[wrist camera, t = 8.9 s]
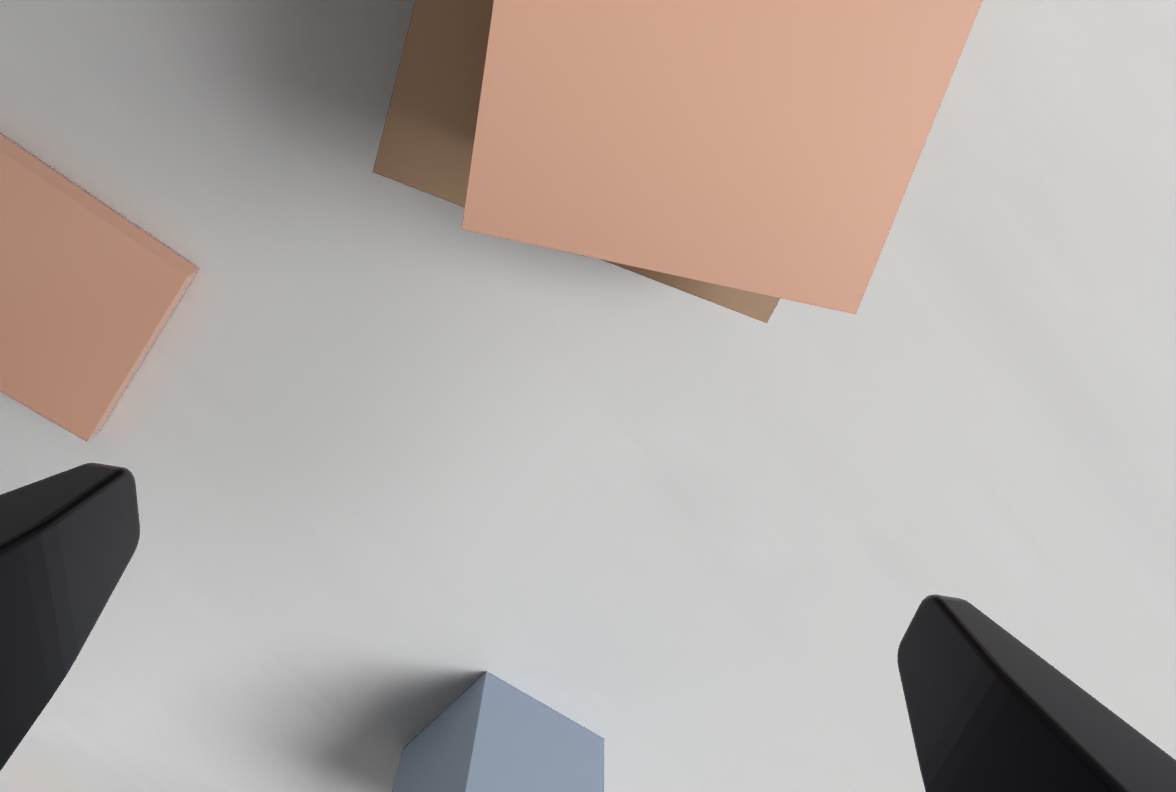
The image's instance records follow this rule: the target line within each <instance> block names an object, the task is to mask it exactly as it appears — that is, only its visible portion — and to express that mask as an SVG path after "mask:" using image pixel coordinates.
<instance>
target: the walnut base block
mask: <svg viewBox="0 0 1176 792" xmlns="http://www.w3.org/2000/svg"><path fill="white" fill-rule="evenodd" d="M493 3H494V0H416V1H415V5H414V9H413V13H412V17H411V21H410V25H409V29H408V33H407V37H406V41H405V45H404V49H403V53H402V57H401V61H400V65H399V69H398V73H397V77H396V81H395V85H394V89H393V93H392V97H391V101H390V105H389V109H388V113H387V117H386V121H385V125H384V129H383V133H382V137H381V141H380V145H379V149H378V153H377V157H376V161H375V165H374V169H373V172H374V173H377V174H379V175H382V176H384V177H387V178H390V179H392V180H395V181H397V182H400V183H403V184H405V185H408V186H410V187H413V188H416V189H418V190H421V191H424V192H426V193H429V194H431V195H434V196H437V197H439V198H442V199H444V200H447V201H450V202H452V203H455V204H457V205H460V206H463V207H465V204H466V196H467V189H468V182H469V175H470V168H471V161H472V154H473V146H474V139H475V132H476V125H477V118H478V111H479V103H480V96H481V89H482V82H483V75H484V68H485V60H486V53H487V46H488V39H489V32H490V25H491V17H492V10H493ZM601 260H602V259H601ZM603 261H606V260H603ZM606 262H609V263H611V264H614V265H617V266H619V267H622V268H624V269H627V270H630V271H632V272H635V273H637V274H640V275H643V276H645V277H648V278H650V279H653V280H656V281H658V282H661V283H663V284H666V285H669V286H671V287H674V288H677V289H679V290H682V291H684V292H687V293H690V294H692V295H695V296H697V297H700V298H703V299H705V300H708V301H710V302H713V303H716V304H718V305H721V306H723V307H726V308H729V309H731V310H734V311H737V312H739V313H742V314H744V315H747V316H750V317H752V318H755V319H757V320H760V321H763V322H765V323H767V322H768V320H769V318H770V316H771V314H772V313H773V311H774V309H775V307H776V305H777V303H778V301H779V300H780V298H778V297H773V296H768V295H764V294H759V293H754V292H750V291H745V290H741V289H736V288H731V287H727V286H722V285H717V284H713V283H708V282H703V281H699V280H694V279H690V278H685V277H680V276H676V275H671V274H666V273H662V272H657V271H653V270H648V269H643V268H639V267H634V266H629V265H625V264H620V263H616V262H611V261H606Z"/></svg>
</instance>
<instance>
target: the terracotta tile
mask: <svg viewBox="0 0 1176 792" xmlns="http://www.w3.org/2000/svg"><path fill="white" fill-rule="evenodd" d="M198 270H199V268H197V267H196V266H194V265H193V264H191V263H190V262H188V261H187V260H185V259H184V258H183V257H181V256H180V255H178V254H177V253H175V252H174V251H172V250H171V249H169V248H168V247H166V246H165V245H163V244H162V243H160V242H159V241H158V240H156V239H155V238H153V237H152V236H150V235H149V234H147V233H146V232H144V231H143V230H141V229H140V228H138V227H137V226H135V225H134V224H133V223H131V222H130V221H128V220H127V219H125V218H124V217H122V216H121V215H119V214H118V213H116V212H115V211H113V210H112V209H110V208H109V207H107V206H106V205H105V204H103V203H102V202H100V201H99V200H97V199H96V198H94V197H93V196H91V195H90V194H88V193H87V192H85V191H84V190H82V189H81V188H80V187H78V186H77V185H75V184H74V183H72V182H71V181H69V180H68V179H66V178H65V177H63V176H62V175H60V174H59V173H57V172H56V171H55V170H53V169H52V168H50V167H49V166H47V165H46V164H44V163H43V162H41V161H40V160H38V159H37V158H35V157H34V156H32V155H31V154H29V153H28V152H27V151H25V150H24V149H22V148H21V147H19V146H18V145H16V144H15V143H13V142H12V141H10V140H9V139H7V138H6V137H4V136H3V135H2V134H0V391H1V392H2V393H4V394H6V395H8V396H9V397H11V398H13V399H14V400H16V401H18V402H20V403H21V404H23V405H25V406H26V407H28V408H30V409H32V410H33V411H35V412H37V413H38V414H40V415H42V416H44V417H45V418H47V419H49V420H50V421H52V422H54V423H56V424H57V425H59V426H61V427H62V428H64V429H66V430H68V431H69V432H71V433H73V434H75V435H76V436H78V437H80V438H81V439H83V440H85V441H88V440H90V439H91V438H92V437H93V436H94V435H95V434H97V433H98V432H99V431H100V430H101V428H102V427H103V425H104V423H105V422H106V420H107V418H108V417H109V415H110V414H111V412H112V410H113V409H114V407H115V405H116V404H117V402H118V401H119V399H120V397H121V396H122V394H123V392H124V391H125V389H126V387H127V386H128V384H129V383H130V381H131V379H132V378H133V376H134V374H135V373H136V371H137V369H138V368H139V366H140V365H141V363H142V361H143V360H144V358H145V356H146V355H147V353H148V352H149V350H150V348H151V347H152V345H153V343H154V342H155V340H156V338H157V337H158V335H159V334H160V332H161V330H162V329H163V327H164V325H165V324H166V322H167V320H168V319H169V317H170V316H171V314H172V312H173V311H174V309H175V307H176V306H177V304H178V303H179V301H180V299H181V298H182V296H183V294H184V293H185V291H186V289H187V288H188V286H189V285H190V283H191V281H192V280H193V278H194V276H195V275H196V273H197V271H198Z"/></svg>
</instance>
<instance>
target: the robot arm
mask: <svg viewBox="0 0 1176 792" xmlns="http://www.w3.org/2000/svg"><path fill="white" fill-rule="evenodd" d="M139 535H140V524H139V514H138V504H137V494H136V484H135V479H134V476H133V474H132V473H131V472H130V471H129V470H128V469H126V468H123V467H116V466H110V465H104V464H97V463H87V464H84V465H81V466H78V467H76V468H73V469H70V470H67V471H65V472H62V473H59V474H56V475H54V476H51V477H48V478H45V479H43V480H40V481H37V482H35V483H32V484H29V485H26V486H24V487H21V488H18V489H15V490H13V491H10V492H7V493H4V494H2V495H0V771H1V769H2V768H3V766H4V765H5V764H6V762H7V761H8V759H9V758H10V756H11V755H12V754H13V752H14V751H15V749H16V748H17V746H18V745H19V743H20V742H21V741H22V739H23V738H24V736H25V735H26V733H27V732H28V731H29V729H30V728H31V726H32V725H33V723H34V722H35V721H36V719H37V718H38V716H39V715H40V713H41V712H42V710H43V709H44V708H45V706H46V705H47V703H48V702H49V700H50V699H51V698H52V696H53V695H54V693H55V692H56V690H57V689H58V687H59V685H60V684H61V682H62V681H63V679H64V678H65V676H66V675H67V673H68V671H69V670H70V668H71V666H72V665H73V663H74V661H75V660H76V658H77V656H78V654H79V653H80V651H81V649H82V647H83V645H84V643H85V642H86V640H87V638H88V636H89V634H90V632H91V631H92V629H93V627H94V625H95V623H96V622H97V620H98V618H99V616H100V614H101V612H102V611H103V609H104V607H105V605H106V603H107V601H108V600H109V598H110V596H111V594H112V592H113V591H114V589H115V587H116V585H117V583H118V581H119V580H120V578H121V576H122V574H123V572H124V570H125V569H126V567H127V565H128V563H129V561H130V559H131V558H132V556H133V554H134V552H135V550H136V547H137V544H138V541H139ZM898 668H899V672H900V677H901V682H902V686H903V691H904V696H905V700H906V705H907V710H908V714H909V719H910V724H911V728H912V733H913V738H914V742H915V747H916V752H917V756H918V761H919V766H920V770H921V774H922V778H923V782H924V786H925V790H926V792H1176V760H1175V759H1173V758H1172V757H1171V756H1169V755H1168V754H1167V753H1165V752H1164V751H1163V750H1162V749H1160V748H1159V747H1158V746H1156V745H1155V744H1154V743H1152V742H1151V741H1150V740H1148V739H1147V738H1146V737H1145V736H1143V735H1142V734H1141V733H1139V732H1138V731H1137V730H1135V729H1134V728H1133V727H1131V726H1130V725H1129V724H1127V723H1126V722H1125V721H1124V720H1122V719H1121V718H1120V717H1118V716H1117V715H1116V714H1114V713H1113V712H1112V711H1110V710H1109V709H1108V708H1107V707H1105V706H1104V705H1103V704H1101V703H1100V702H1099V701H1097V700H1096V699H1095V698H1093V697H1092V696H1091V695H1089V694H1088V693H1087V692H1086V691H1084V690H1083V689H1082V688H1080V687H1079V686H1078V685H1076V684H1075V683H1074V682H1072V681H1071V680H1070V679H1068V678H1067V677H1066V676H1065V675H1063V674H1062V673H1061V672H1059V671H1058V670H1057V669H1055V668H1054V667H1053V666H1051V665H1050V664H1049V663H1048V662H1046V661H1045V660H1044V659H1042V658H1041V657H1040V656H1038V655H1037V654H1036V653H1034V652H1033V651H1032V650H1030V649H1029V648H1028V647H1027V646H1025V645H1024V644H1023V643H1021V642H1020V641H1019V640H1017V639H1016V638H1015V637H1013V636H1012V635H1011V634H1010V633H1008V632H1007V631H1006V630H1004V629H1003V628H1002V627H1000V626H999V625H998V624H996V623H995V622H994V621H992V620H991V619H990V618H989V617H987V616H986V615H985V614H983V613H982V612H981V611H979V610H978V609H977V608H975V607H974V606H973V605H972V604H970V603H969V602H967V601H965V600H963V599H960V598H954V597H947V596H941V595H930V596H927V597H926V598H925V599H924V600H923V601H922V602H921V604H920V606H919V608H918V609H917V611H916V613H915V615H914V617H913V619H912V621H911V623H910V625H909V627H908V629H907V631H906V633H905V635H904V637H903V639H902V641H901V643H900V646H899V649H898Z"/></svg>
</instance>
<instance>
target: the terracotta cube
mask: <svg viewBox="0 0 1176 792" xmlns="http://www.w3.org/2000/svg"><path fill="white" fill-rule="evenodd" d="M982 1H983V0H494V3H493V10H492V17H491V25H490V32H489V39H488V46H487V53H486V60H485V68H484V75H483V82H482V89H481V96H480V103H479V111H478V118H477V125H476V132H475V139H474V146H473V154H472V161H471V168H470V175H469V182H468V189H467V196H466V204H465V211H464V218H463V225H462V229H463V230H467V231H472V232H477V233H481V234H486V235H491V236H495V237H500V238H504V239H509V240H514V241H518V242H523V243H528V244H532V245H537V246H541V247H546V248H551V249H555V250H560V251H565V252H569V253H574V254H578V255H583V256H588V257H592V258H597V259H602V260H606V261H611V262H616V263H620V264H625V265H629V266H634V267H639V268H643V269H648V270H653V271H657V272H662V273H666V274H671V275H676V276H680V277H685V278H690V279H694V280H699V281H703V282H708V283H713V284H717V285H722V286H727V287H731V288H736V289H741V290H745V291H750V292H754V293H759V294H764V295H768V296H773V297H778V298H782V299H787V300H791V301H796V302H801V303H805V304H810V305H815V306H819V307H824V308H828V309H833V310H838V311H842V312H847V313H852V314H856V313H857V310H858V308H859V305H860V303H861V301H862V298H863V296H864V293H865V291H866V288H867V286H868V283H869V281H870V278H871V276H872V273H873V271H874V268H875V266H876V263H877V261H878V258H879V256H880V253H881V251H882V248H883V246H884V243H885V241H886V239H887V236H888V234H889V231H890V229H891V226H892V224H893V221H894V219H895V216H896V214H897V211H898V209H899V206H900V204H901V201H902V199H903V196H904V194H905V191H906V189H907V186H908V184H909V182H910V179H911V177H912V174H913V172H914V169H915V167H916V164H917V162H918V159H919V157H920V154H921V152H922V149H923V147H924V144H925V142H926V139H927V137H928V134H929V132H930V129H931V127H932V124H933V122H934V120H935V117H936V115H937V112H938V110H939V107H940V105H941V102H942V100H943V97H944V95H945V92H946V90H947V87H948V85H949V82H950V80H951V77H952V75H953V72H954V70H955V67H956V65H957V63H958V60H959V58H960V55H961V53H962V50H963V48H964V45H965V43H966V40H967V38H968V35H969V33H970V30H971V28H972V25H973V23H974V20H975V18H976V15H977V13H978V10H979V8H980V6H981V3H982Z"/></svg>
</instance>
